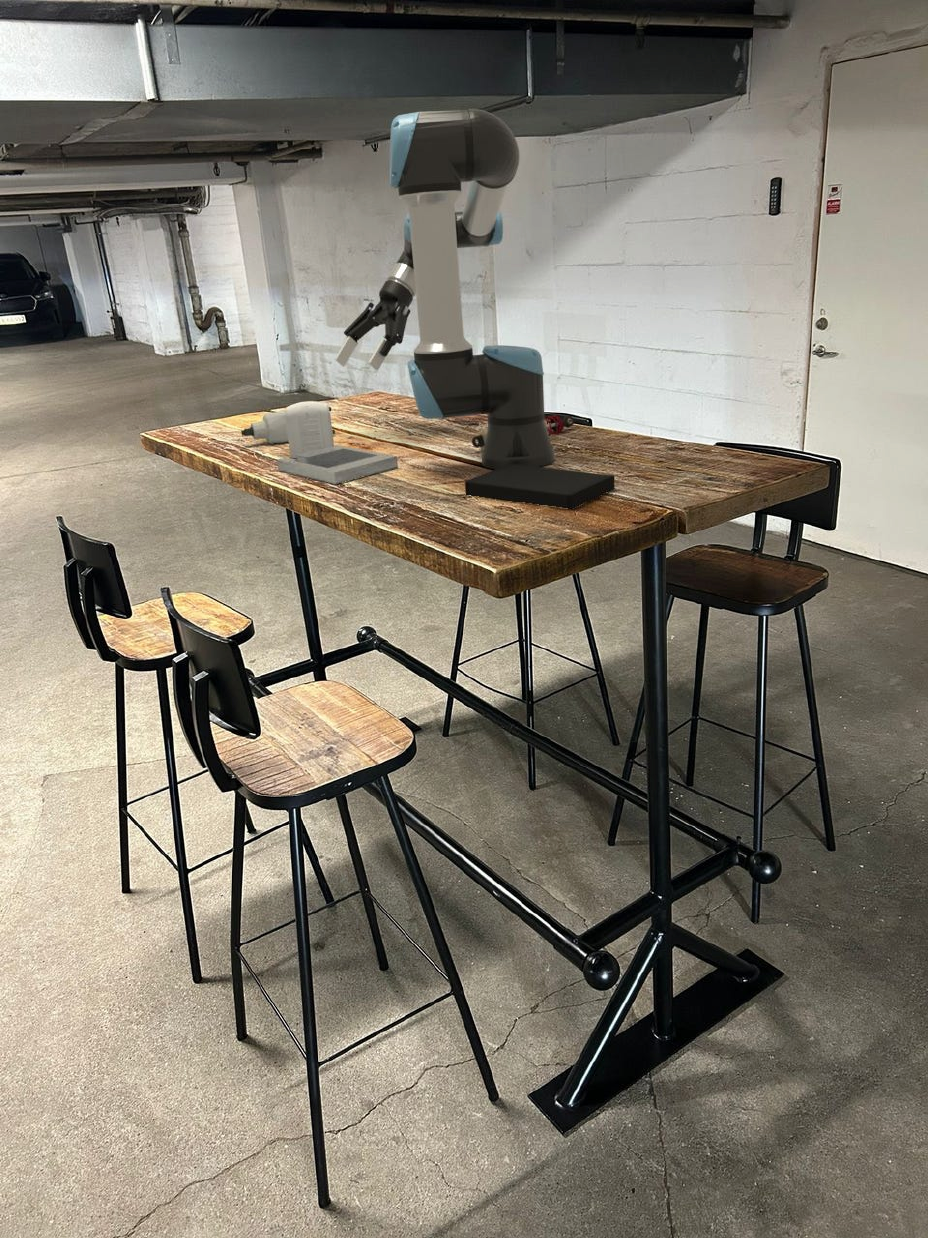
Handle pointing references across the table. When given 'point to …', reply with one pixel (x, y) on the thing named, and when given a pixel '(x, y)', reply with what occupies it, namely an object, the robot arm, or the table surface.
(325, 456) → the plate
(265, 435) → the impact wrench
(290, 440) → the photo printer
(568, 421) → the shock absorber
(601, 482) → the external hard drive
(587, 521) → the table surface
